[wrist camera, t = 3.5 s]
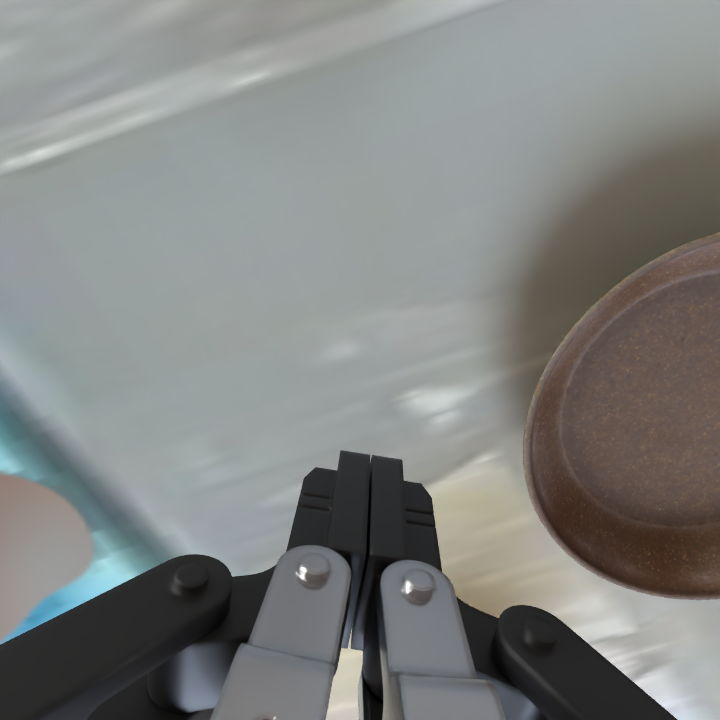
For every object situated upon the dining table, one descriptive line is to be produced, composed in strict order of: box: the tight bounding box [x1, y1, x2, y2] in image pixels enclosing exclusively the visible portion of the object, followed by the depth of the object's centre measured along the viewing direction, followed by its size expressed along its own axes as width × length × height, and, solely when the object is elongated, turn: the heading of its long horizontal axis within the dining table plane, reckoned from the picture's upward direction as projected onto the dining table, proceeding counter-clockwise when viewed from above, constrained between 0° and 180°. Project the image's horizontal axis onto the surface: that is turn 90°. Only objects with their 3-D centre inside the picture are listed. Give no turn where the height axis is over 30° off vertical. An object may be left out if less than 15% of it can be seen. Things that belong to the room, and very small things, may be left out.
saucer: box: [523, 232, 720, 600], centre depth 21 cm, size 15×15×3 cm
